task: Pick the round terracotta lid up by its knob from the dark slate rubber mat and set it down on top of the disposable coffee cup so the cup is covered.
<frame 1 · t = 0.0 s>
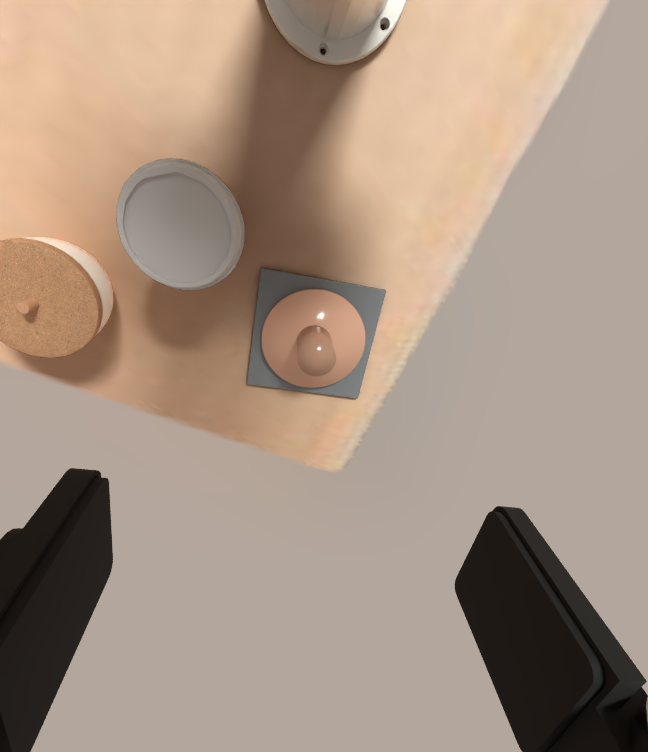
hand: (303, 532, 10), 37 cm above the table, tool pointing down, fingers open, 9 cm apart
disposable coffee cup: (207, 217, 40), on the table
mat: (313, 337, 47), on the table
lidded jar: (76, 282, 42), on the table
lid: (313, 339, 46), point 1 cm above the table, touching mat
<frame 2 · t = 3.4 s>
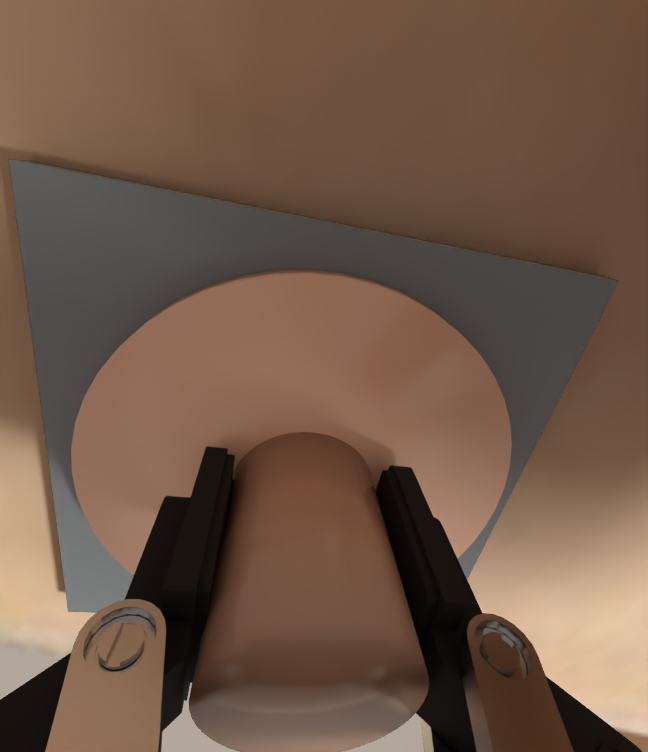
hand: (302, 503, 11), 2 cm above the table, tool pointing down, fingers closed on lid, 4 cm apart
mat: (300, 459, 12), on the table
lid: (301, 472, 12), point 1 cm above the table, touching gripper, mat
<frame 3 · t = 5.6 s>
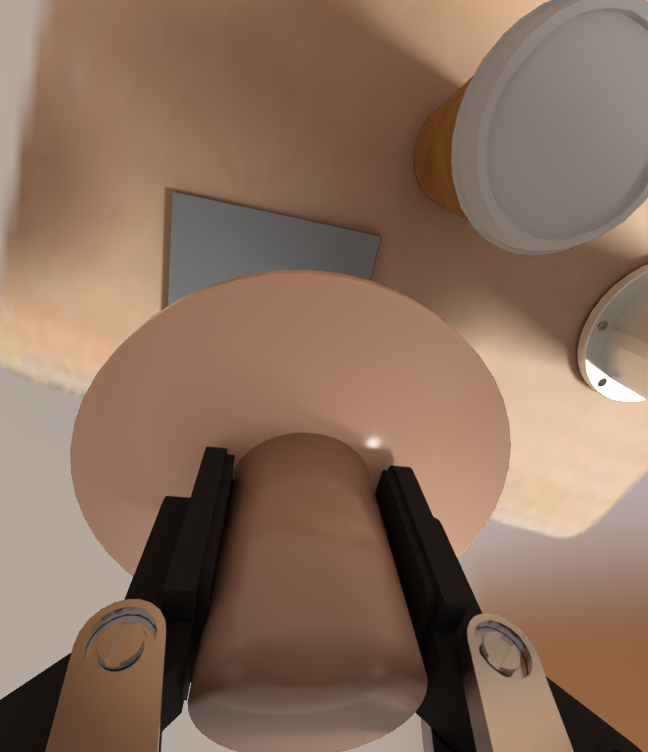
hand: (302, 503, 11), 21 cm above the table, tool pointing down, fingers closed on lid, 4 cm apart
disposable coffee cup: (458, 155, 26), on the table
mat: (266, 312, 30), on the table
lid: (300, 472, 12), point 20 cm above the table, touching gripper
when the fingers open (15 cm above the table, at t = 7.9 s): lid drops 2 cm, resting on disposable coffee cup.
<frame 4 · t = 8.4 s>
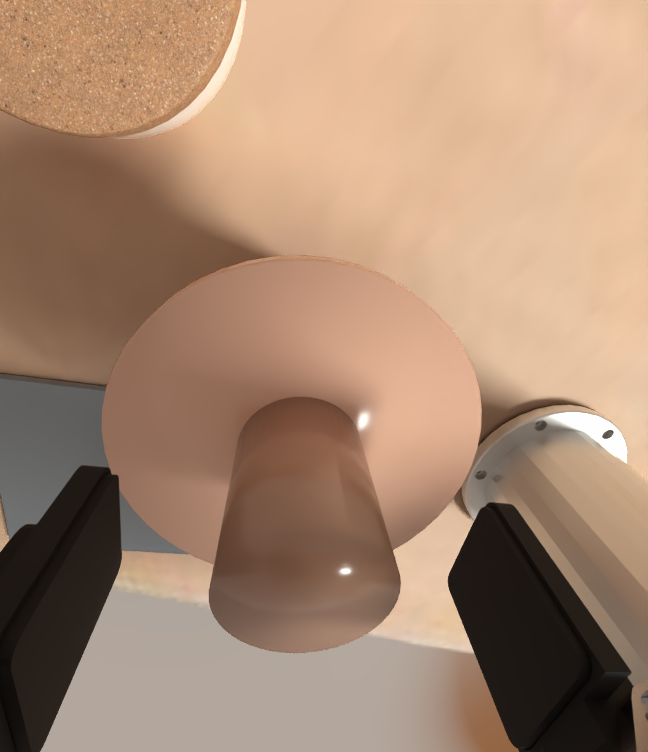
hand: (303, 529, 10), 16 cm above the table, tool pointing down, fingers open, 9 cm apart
mat: (110, 473, 28), on the table
lidded jar: (138, 14, 17), on the table
lid: (298, 436, 13), point 12 cm above the table, touching disposable coffee cup
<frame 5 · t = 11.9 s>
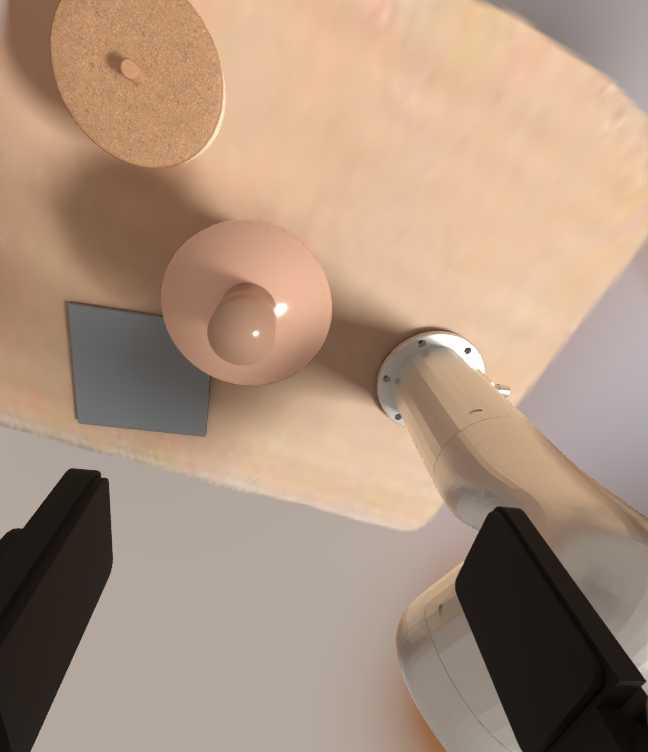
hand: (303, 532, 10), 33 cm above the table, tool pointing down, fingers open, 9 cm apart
mat: (144, 374, 43), on the table
lidded jar: (170, 98, 33), on the table
lid: (249, 307, 29), point 12 cm above the table, touching disposable coffee cup
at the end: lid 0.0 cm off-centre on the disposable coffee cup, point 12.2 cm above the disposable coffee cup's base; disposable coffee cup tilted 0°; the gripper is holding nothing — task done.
